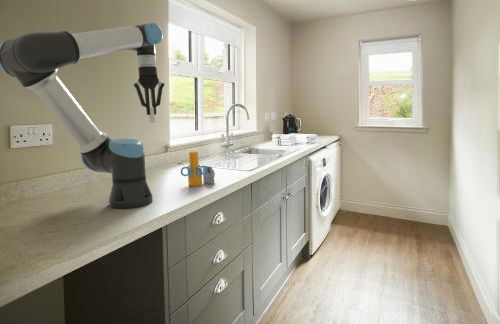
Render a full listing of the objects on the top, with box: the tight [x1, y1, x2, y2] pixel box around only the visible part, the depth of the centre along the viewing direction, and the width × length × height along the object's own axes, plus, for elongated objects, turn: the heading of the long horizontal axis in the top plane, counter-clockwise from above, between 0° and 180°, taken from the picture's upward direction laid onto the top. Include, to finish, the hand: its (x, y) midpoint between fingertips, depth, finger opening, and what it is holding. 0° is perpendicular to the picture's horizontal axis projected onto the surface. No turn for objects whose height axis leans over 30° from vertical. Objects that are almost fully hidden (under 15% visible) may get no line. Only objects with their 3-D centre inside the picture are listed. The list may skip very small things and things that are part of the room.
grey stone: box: [202, 164, 216, 186], centre depth 159 cm, size 3×8×8 cm, turn 31°
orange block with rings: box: [180, 150, 208, 187], centre depth 155 cm, size 12×10×15 cm
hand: (152, 122), depth 152 cm, fingers closed
